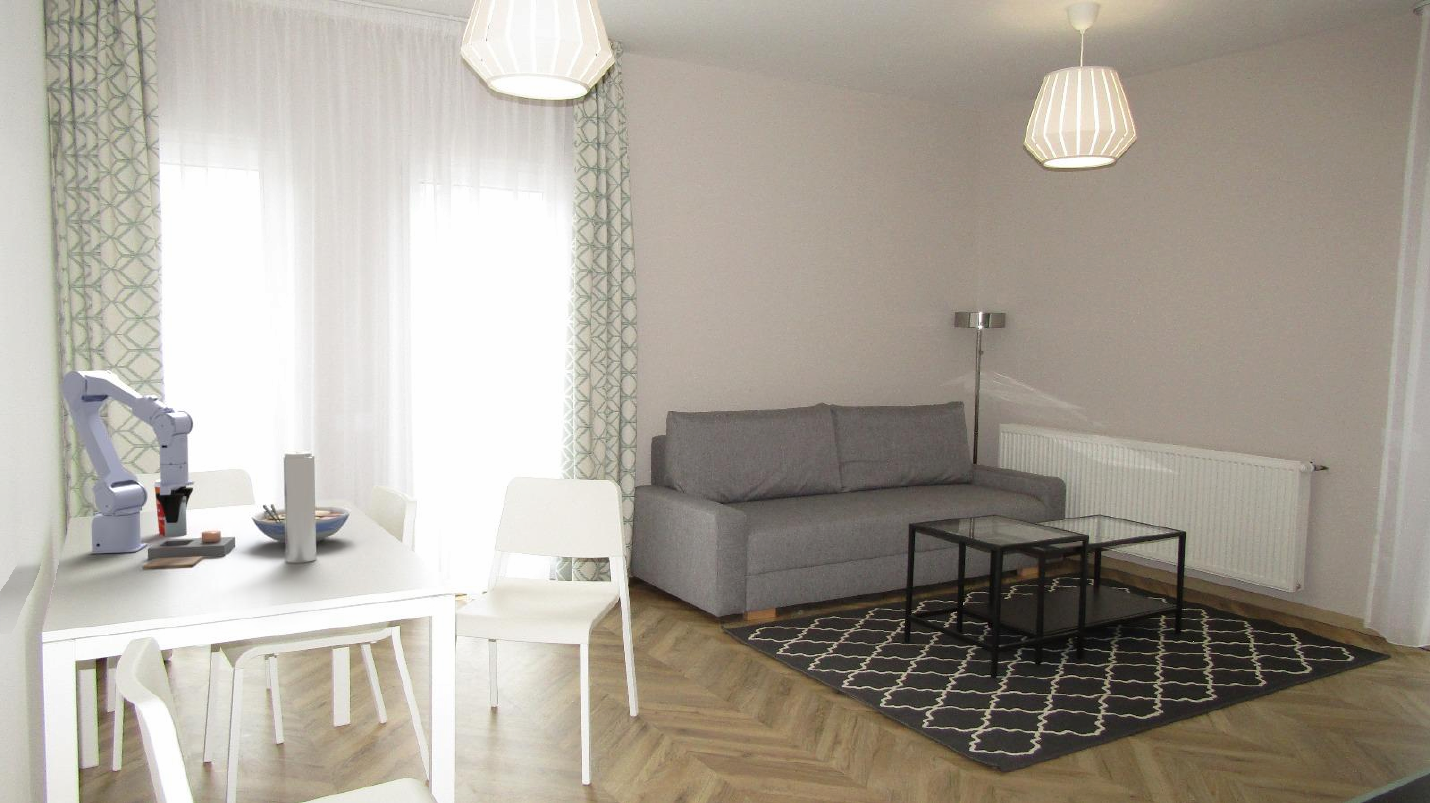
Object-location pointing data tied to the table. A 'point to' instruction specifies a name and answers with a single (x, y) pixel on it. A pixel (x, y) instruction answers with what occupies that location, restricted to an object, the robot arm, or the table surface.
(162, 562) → the walnut pad
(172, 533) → the cylinder
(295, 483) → the air filter
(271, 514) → the ramen bowl
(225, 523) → the table surface
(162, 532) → the paper cup
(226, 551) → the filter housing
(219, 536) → the plunger
